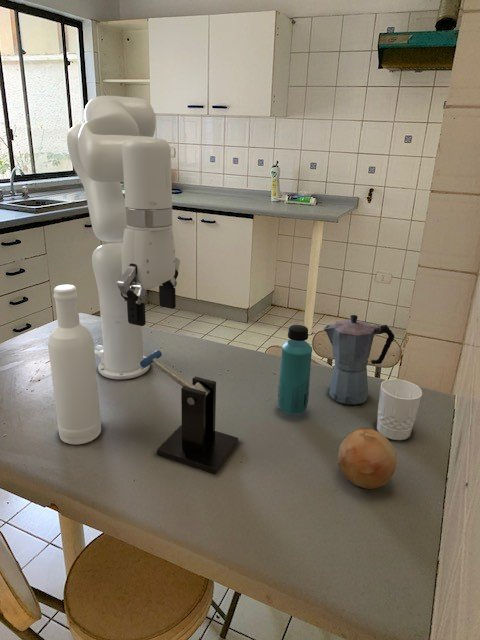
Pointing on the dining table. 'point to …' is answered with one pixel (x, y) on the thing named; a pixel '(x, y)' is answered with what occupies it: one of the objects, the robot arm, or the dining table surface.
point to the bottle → (73, 372)
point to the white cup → (397, 408)
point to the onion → (367, 458)
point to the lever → (170, 371)
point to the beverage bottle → (295, 371)
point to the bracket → (198, 431)
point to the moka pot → (353, 357)
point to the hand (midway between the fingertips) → (153, 315)
